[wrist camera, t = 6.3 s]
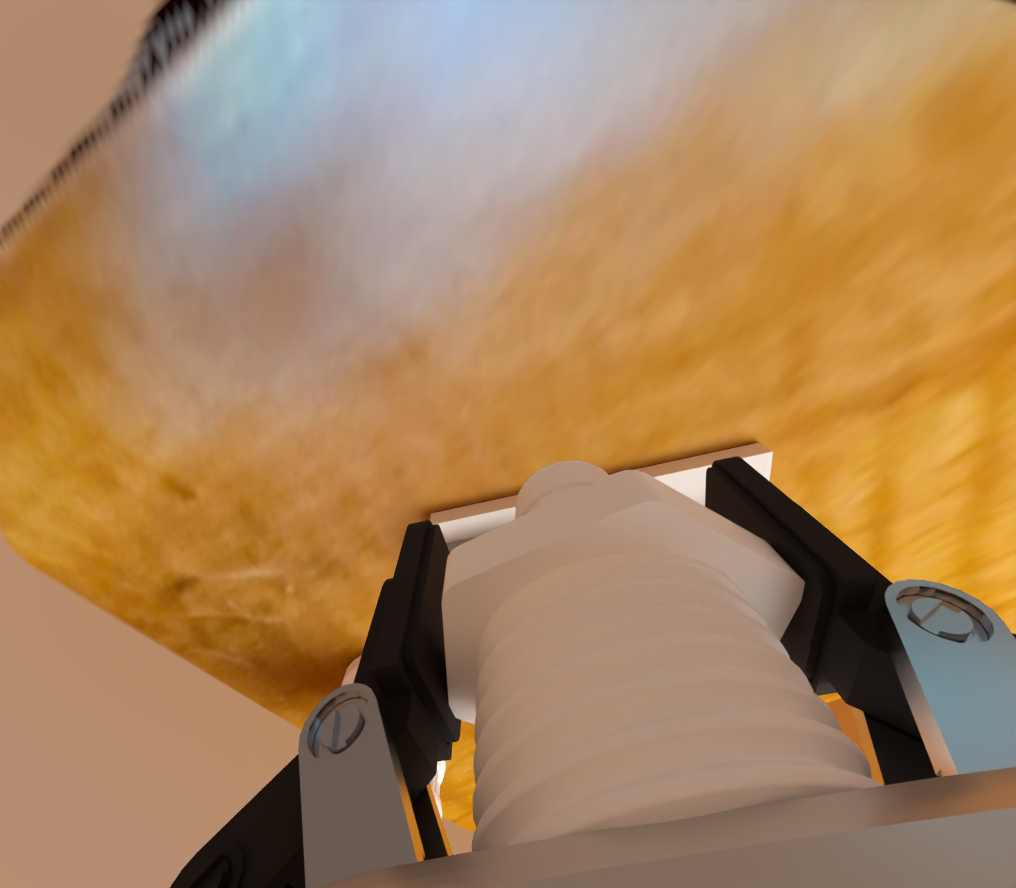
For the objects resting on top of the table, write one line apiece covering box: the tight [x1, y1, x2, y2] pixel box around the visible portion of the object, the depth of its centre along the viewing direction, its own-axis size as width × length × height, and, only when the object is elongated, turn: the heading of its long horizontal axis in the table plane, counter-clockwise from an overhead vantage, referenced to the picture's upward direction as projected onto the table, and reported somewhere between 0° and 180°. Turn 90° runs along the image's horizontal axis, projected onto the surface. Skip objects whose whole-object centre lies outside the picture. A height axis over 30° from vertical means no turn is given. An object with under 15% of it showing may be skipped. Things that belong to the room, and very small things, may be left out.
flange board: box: [430, 442, 773, 552], centre depth 32 cm, size 16×26×4 cm, turn 102°
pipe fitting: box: [442, 460, 883, 852], centre depth 8 cm, size 6×7×8 cm
